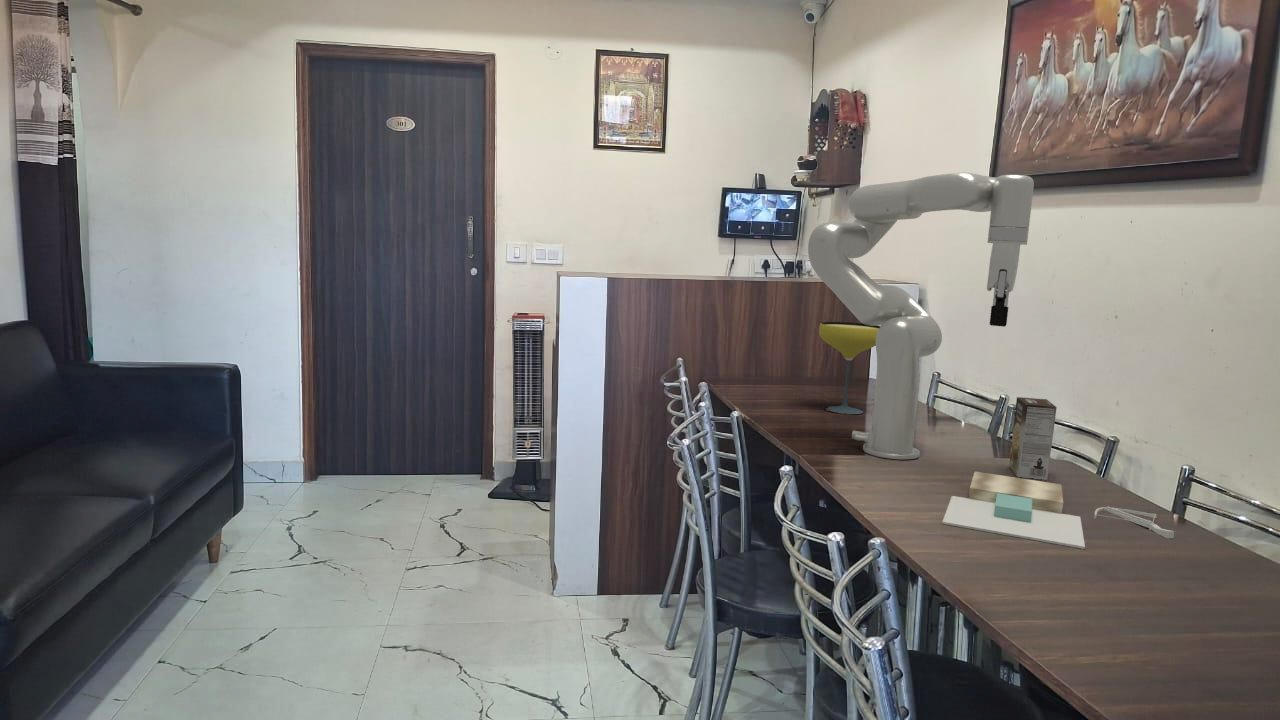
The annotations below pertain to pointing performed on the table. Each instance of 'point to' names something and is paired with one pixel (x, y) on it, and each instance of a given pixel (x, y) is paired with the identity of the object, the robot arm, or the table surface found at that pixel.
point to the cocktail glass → (848, 348)
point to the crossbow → (1137, 520)
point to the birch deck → (1017, 490)
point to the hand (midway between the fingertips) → (997, 325)
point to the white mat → (1015, 523)
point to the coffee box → (1032, 438)
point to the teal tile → (1013, 507)
